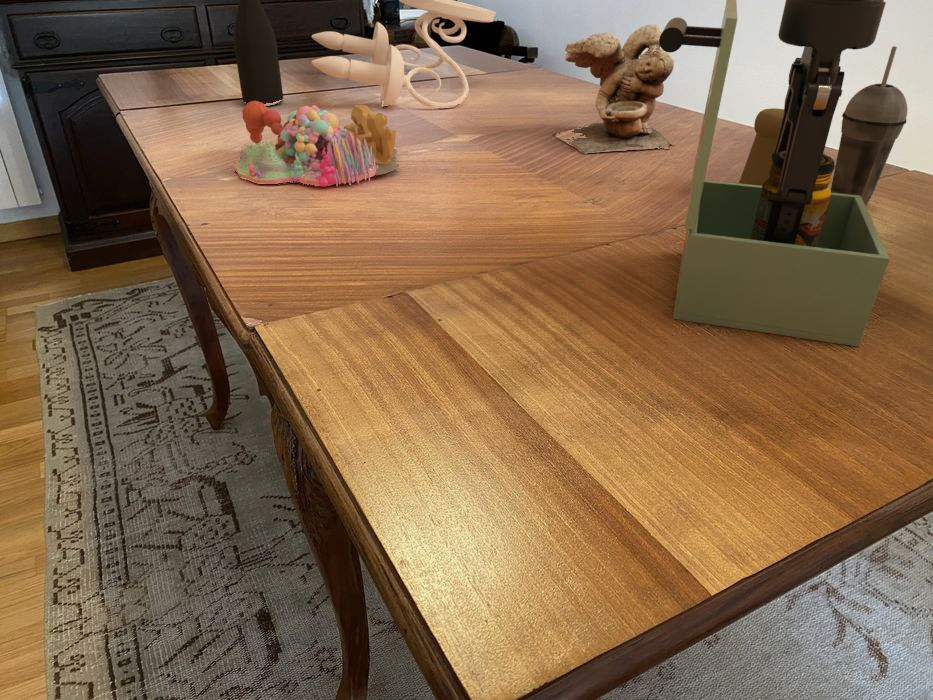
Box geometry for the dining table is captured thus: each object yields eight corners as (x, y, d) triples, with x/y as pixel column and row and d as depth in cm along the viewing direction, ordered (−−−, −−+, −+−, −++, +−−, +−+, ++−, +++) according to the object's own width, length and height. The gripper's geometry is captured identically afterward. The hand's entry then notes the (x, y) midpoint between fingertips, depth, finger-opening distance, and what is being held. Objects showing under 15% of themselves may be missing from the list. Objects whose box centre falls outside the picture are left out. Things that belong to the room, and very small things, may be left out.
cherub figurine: (586, 157, 112) (598, 36, 103) (541, 129, 127) (548, 20, 117) (682, 147, 117) (702, 31, 108) (628, 121, 132) (641, 16, 122)
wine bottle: (250, 98, 146) (225, -70, 130) (288, 99, 146) (267, -70, 130) (238, 107, 139) (209, -69, 123) (277, 108, 139) (254, -69, 123)
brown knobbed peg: (728, 189, 100) (745, 109, 94) (750, 180, 103) (768, 102, 98) (768, 200, 96) (788, 117, 90) (790, 190, 100) (810, 110, 94)
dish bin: (836, 272, 77) (860, 195, 72) (858, 347, 64) (890, 258, 59) (682, 252, 81) (695, 178, 77) (672, 319, 68) (688, 234, 63)
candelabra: (476, 0, 169) (318, -36, 159) (522, 27, 132) (319, -17, 122) (458, 86, 179) (309, 58, 169) (496, 135, 142) (308, 102, 132)
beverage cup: (881, 203, 95) (933, 44, 85) (872, 219, 90) (927, 52, 80) (823, 193, 99) (867, 38, 88) (812, 208, 94) (857, 46, 83)
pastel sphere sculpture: (376, 137, 121) (373, 81, 116) (422, 178, 103) (420, 114, 98) (226, 153, 113) (216, 93, 108) (247, 201, 95) (235, 131, 90)
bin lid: (736, -3, 67) (673, -6, 68) (737, 18, 54) (659, 13, 55) (700, 175, 76) (645, 168, 78) (694, 230, 63) (628, 221, 64)
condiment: (818, 292, 68) (855, 169, 61) (726, 286, 69) (754, 164, 62) (799, 261, 74) (831, 146, 67) (716, 255, 75) (740, 142, 69)
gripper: (781, -19, 66) (731, 214, 79) (796, 2, 51) (731, 288, 63) (868, -16, 64) (803, 222, 77) (912, 6, 49) (821, 300, 61)
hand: (770, 251), depth 70 cm, fingers closed on condiment, 6 cm apart
